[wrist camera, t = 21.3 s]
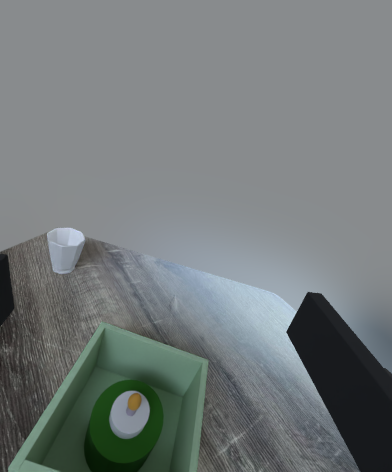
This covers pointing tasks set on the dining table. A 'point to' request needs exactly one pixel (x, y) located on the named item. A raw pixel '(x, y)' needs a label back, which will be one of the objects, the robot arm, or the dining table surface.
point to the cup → (65, 248)
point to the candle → (123, 427)
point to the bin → (103, 376)
